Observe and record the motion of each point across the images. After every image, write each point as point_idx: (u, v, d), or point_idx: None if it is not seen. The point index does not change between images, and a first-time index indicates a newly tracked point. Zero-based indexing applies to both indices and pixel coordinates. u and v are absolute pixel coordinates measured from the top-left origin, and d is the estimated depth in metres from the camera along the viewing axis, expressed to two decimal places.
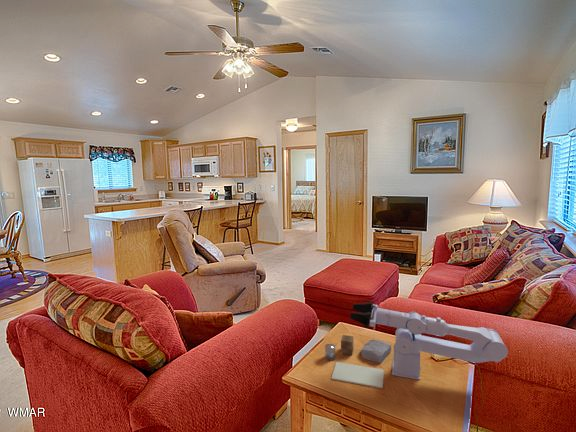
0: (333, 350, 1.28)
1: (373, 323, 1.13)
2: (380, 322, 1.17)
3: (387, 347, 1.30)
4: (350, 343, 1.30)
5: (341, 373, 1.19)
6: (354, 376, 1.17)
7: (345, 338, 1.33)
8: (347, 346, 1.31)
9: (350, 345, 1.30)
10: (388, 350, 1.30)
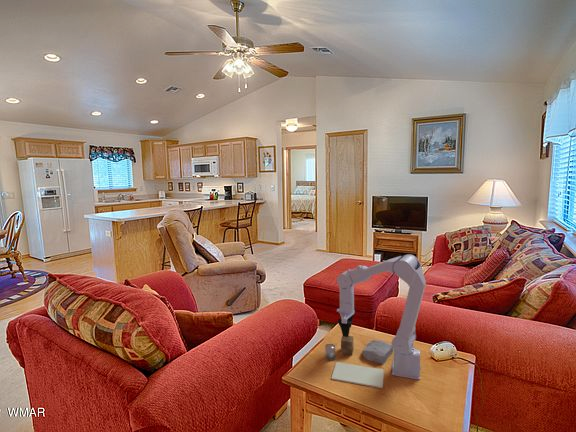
0: (333, 350, 1.28)
1: (343, 320, 1.24)
2: (348, 309, 1.28)
3: (389, 348, 1.30)
4: (350, 343, 1.30)
5: (341, 373, 1.19)
6: (354, 376, 1.17)
7: (345, 338, 1.33)
8: (347, 346, 1.31)
9: (350, 345, 1.30)
10: (390, 350, 1.30)
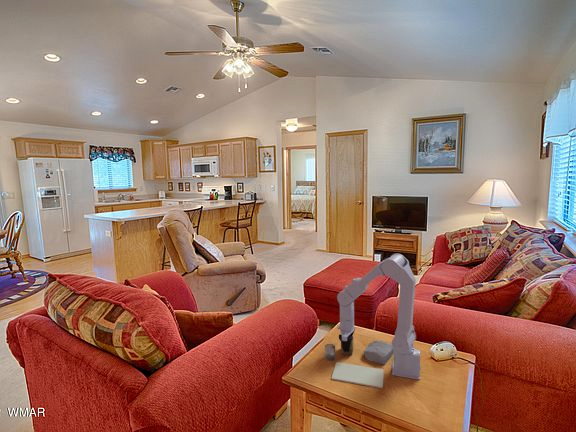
0: (333, 350, 1.28)
1: (343, 337, 1.25)
2: (348, 327, 1.29)
3: (390, 348, 1.30)
4: None
5: (341, 373, 1.19)
6: (354, 376, 1.17)
7: None
8: None
9: (350, 345, 1.30)
10: (392, 351, 1.30)
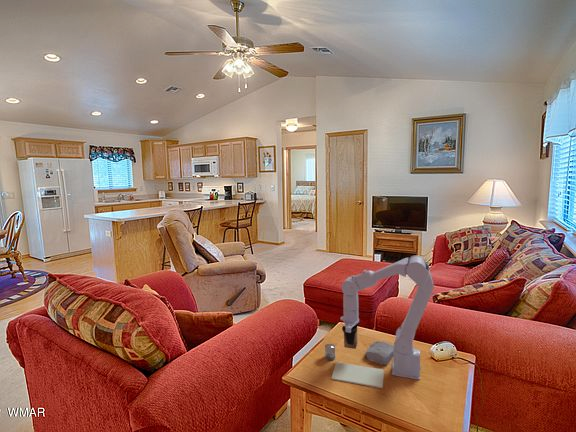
0: (333, 350, 1.28)
1: (347, 329, 1.18)
2: (352, 318, 1.22)
3: (392, 349, 1.29)
4: None
5: (341, 373, 1.19)
6: (354, 376, 1.17)
7: None
8: None
9: (354, 338, 1.23)
10: None
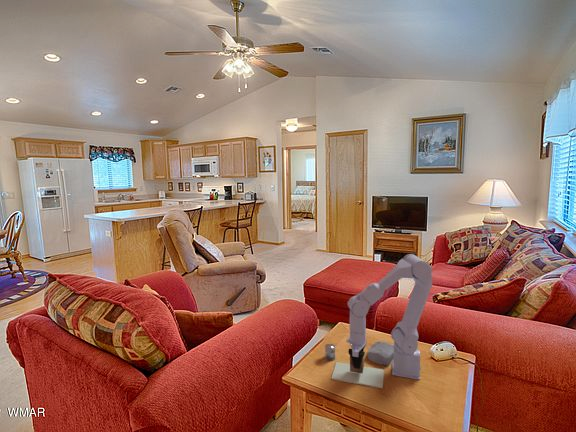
0: (333, 350, 1.28)
1: (354, 353, 1.10)
2: (360, 340, 1.13)
3: None
4: None
5: (341, 373, 1.19)
6: (354, 376, 1.17)
7: None
8: None
9: None
10: None
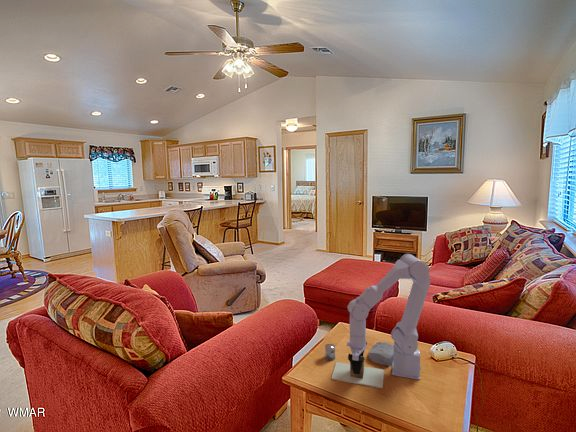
0: (333, 350, 1.28)
1: (354, 356, 1.10)
2: (360, 344, 1.14)
3: None
4: (361, 365, 1.15)
5: (341, 373, 1.19)
6: None
7: None
8: None
9: (361, 367, 1.15)
10: None
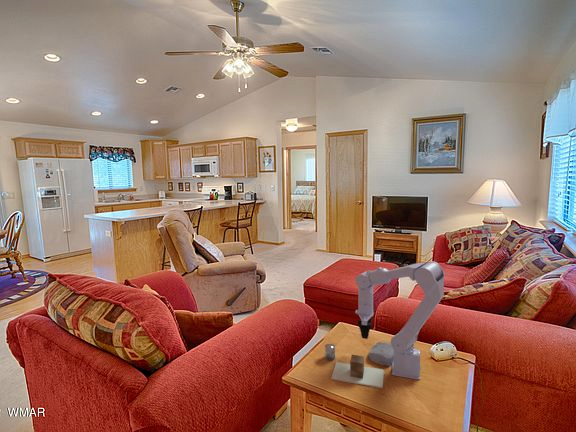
0: (333, 350, 1.28)
1: (363, 321, 1.21)
2: (368, 311, 1.25)
3: None
4: (361, 365, 1.15)
5: (341, 373, 1.19)
6: None
7: (355, 358, 1.18)
8: (358, 368, 1.16)
9: (361, 367, 1.15)
10: None
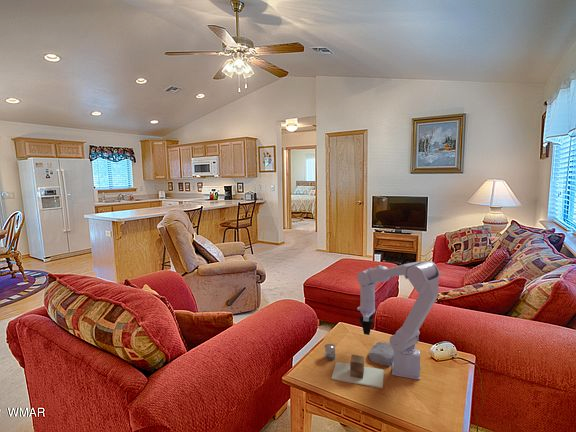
0: (333, 350, 1.28)
1: (364, 318, 1.24)
2: (369, 307, 1.28)
3: None
4: (361, 365, 1.15)
5: (341, 373, 1.19)
6: None
7: (355, 358, 1.18)
8: (358, 368, 1.16)
9: (361, 367, 1.15)
10: None
